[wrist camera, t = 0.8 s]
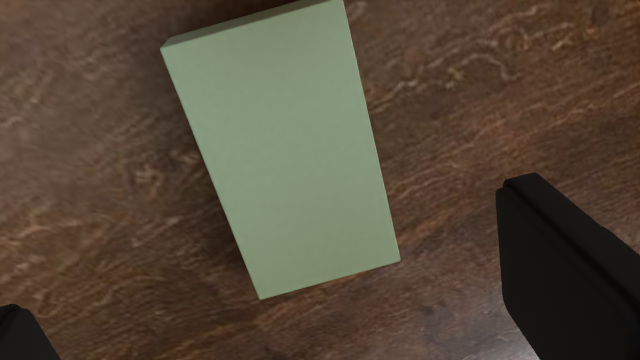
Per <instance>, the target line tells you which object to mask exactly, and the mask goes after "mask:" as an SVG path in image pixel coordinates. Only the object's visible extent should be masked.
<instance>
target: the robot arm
mask: <svg viewBox="0 0 640 360" xmlns="http://www.w3.org/2000/svg"><path fill="white" fill-rule="evenodd" d="M496 210H497V224H498V239H499V253H500V267H501V281H502V295H503V300H504V303H505V306H506V309H507V311H508V313H509V314H510V316H511V317H512V319H513V320H514V322H515V323H516V325H517V326H518V328H519V329H520V331H521V332H522V333H523V335H524V336H525V338H526V339H527V341H528V342H529V344H530V345H531V347H532V348H533V350H534V351H535V353H536V354H537V356H538V357H539V359H540V360H640V255H639V254H638V253H636V252H635V251H634V250H633V249H632V248H630V247H629V246H628V245H627V244H625V243H624V242H623V241H622V240H621V239H619V238H618V237H617V236H616V235H614V234H613V233H612V232H611V231H609V230H608V229H606V228H604V227H602V226H600V225H599V224H598V223H597V222H595V221H594V220H593V219H592V218H591V217H589V216H588V215H587V214H586V213H585V212H583V211H582V210H581V209H580V208H579V207H577V206H576V205H575V204H574V203H573V202H571V201H570V200H569V199H568V198H566V197H565V196H564V195H563V194H562V193H560V192H559V191H558V190H557V189H556V188H554V187H553V186H552V185H551V184H550V183H548V182H547V181H546V180H545V179H544V178H542V177H541V176H540V175H539V174H537V173H529V174H525V175H521V176H517V177H513V178H510V179H506V180H505V181H504V184H503V188H500V189H497V190H496ZM0 360H61V359H60V358H59V356H58V355H57V353H56V351H55V350H54V348H53V347H52V345H51V343H50V342H49V340H48V339H47V337H46V335H45V334H44V332H43V330H42V329H41V327H40V326H39V324H38V322H37V321H36V319H35V318H34V316H33V314H32V313H31V312H30V311H29V310H27V309H22V308H21V307H20V306H18V305H16V304H9V305H5V306H1V307H0Z"/></svg>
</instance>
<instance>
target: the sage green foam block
mask: <svg viewBox="0 0 640 360" xmlns="http://www.w3.org/2000/svg"><path fill="white" fill-rule="evenodd" d="M160 52H161V54H162V57H163V59H164V62H165V64H166V67H167V69H168V72H169V74H170V77H171V79H172V82H173V84H174V87H175V89H176V92H177V94H178V97H179V99H180V102H181V104H182V107H183V109H184V112H185V114H186V117H187V119H188V122H189V124H190V127H191V129H192V132H193V134H194V137H195V139H196V142H197V144H198V147H199V149H200V152H201V154H202V157H203V159H204V162H205V164H206V167H207V169H208V172H209V174H210V177H211V180H212V182H213V185H214V187H215V190H216V192H217V195H218V197H219V200H220V202H221V205H222V207H223V210H224V212H225V215H226V217H227V220H228V222H229V225H230V227H231V230H232V232H233V235H234V237H235V240H236V242H237V245H238V247H239V250H240V252H241V255H242V257H243V260H244V262H245V265H246V267H247V270H248V272H249V275H250V277H251V280H252V282H253V285H254V287H255V290H256V292H257V295H258V297H259V299H260V300H261V299H265V298H268V297H272V296H276V295H279V294H283V293H286V292H290V291H294V290H297V289H301V288H305V287H308V286H312V285H315V284H319V283H323V282H326V281H330V280H333V279H337V278H341V277H344V276H348V275H351V274H355V273H359V272H362V271H366V270H370V269H373V268H377V267H380V266H384V265H388V264H391V263H395V262H398V261H400V255H399V250H398V246H397V241H396V237H395V232H394V228H393V223H392V219H391V214H390V210H389V205H388V201H387V196H386V192H385V187H384V183H383V178H382V174H381V169H380V165H379V160H378V156H377V151H376V147H375V142H374V138H373V133H372V129H371V124H370V120H369V115H368V111H367V106H366V102H365V97H364V93H363V88H362V84H361V79H360V74H359V70H358V65H357V61H356V56H355V52H354V47H353V43H352V38H351V34H350V29H349V25H348V20H347V16H346V11H345V7H344V2H343V0H299V1H296V2H292V3H289V4H285V5H282V6H278V7H275V8H271V9H268V10H264V11H261V12H257V13H254V14H250V15H247V16H243V17H240V18H236V19H233V20H229V21H226V22H222V23H219V24H215V25H212V26H208V27H205V28H201V29H198V30H194V31H191V32H187V33H184V34H180V35H177V36H173V37H170V38H169V39H168V40H167V41H166V42H165V43H164V45H163V46H162V47H161V48H160Z"/></svg>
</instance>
